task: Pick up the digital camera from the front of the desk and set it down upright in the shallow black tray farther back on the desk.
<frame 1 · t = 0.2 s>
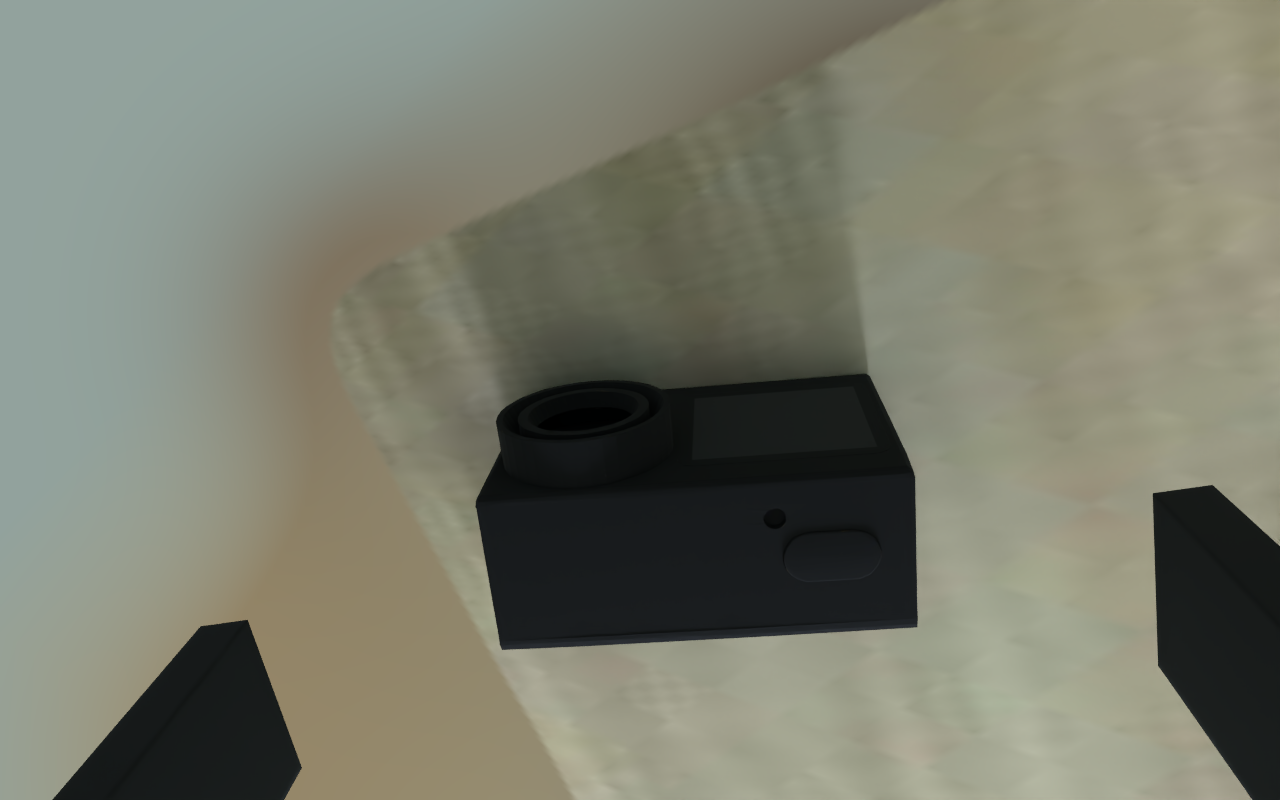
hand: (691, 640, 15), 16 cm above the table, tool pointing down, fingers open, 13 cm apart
digital camera: (700, 431, 31), on the table
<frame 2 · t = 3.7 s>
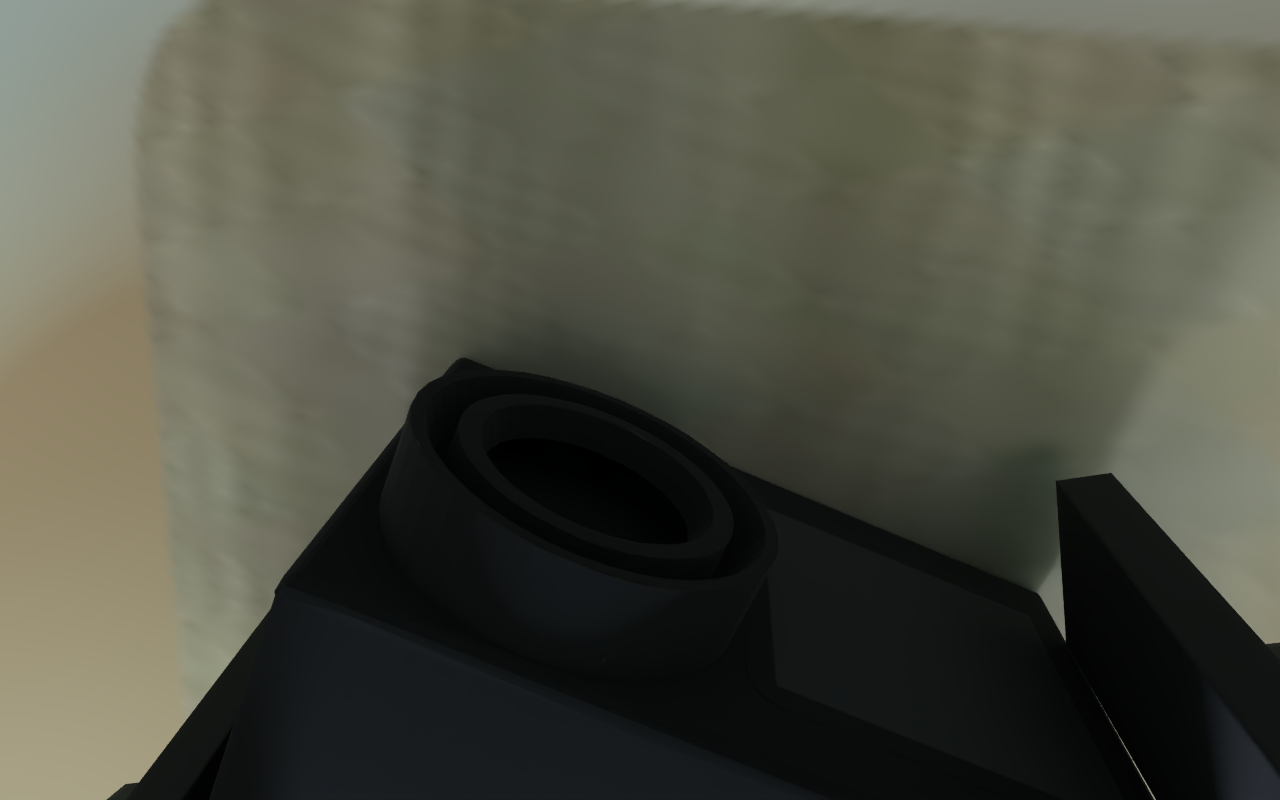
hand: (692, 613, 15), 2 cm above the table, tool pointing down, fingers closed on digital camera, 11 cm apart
digital camera: (721, 546, 17), on the table, touching gripper
when the fingers open (2 cm above the table, at t = 11.7 s): digital camera stays where it is, resting on shallow black tray.
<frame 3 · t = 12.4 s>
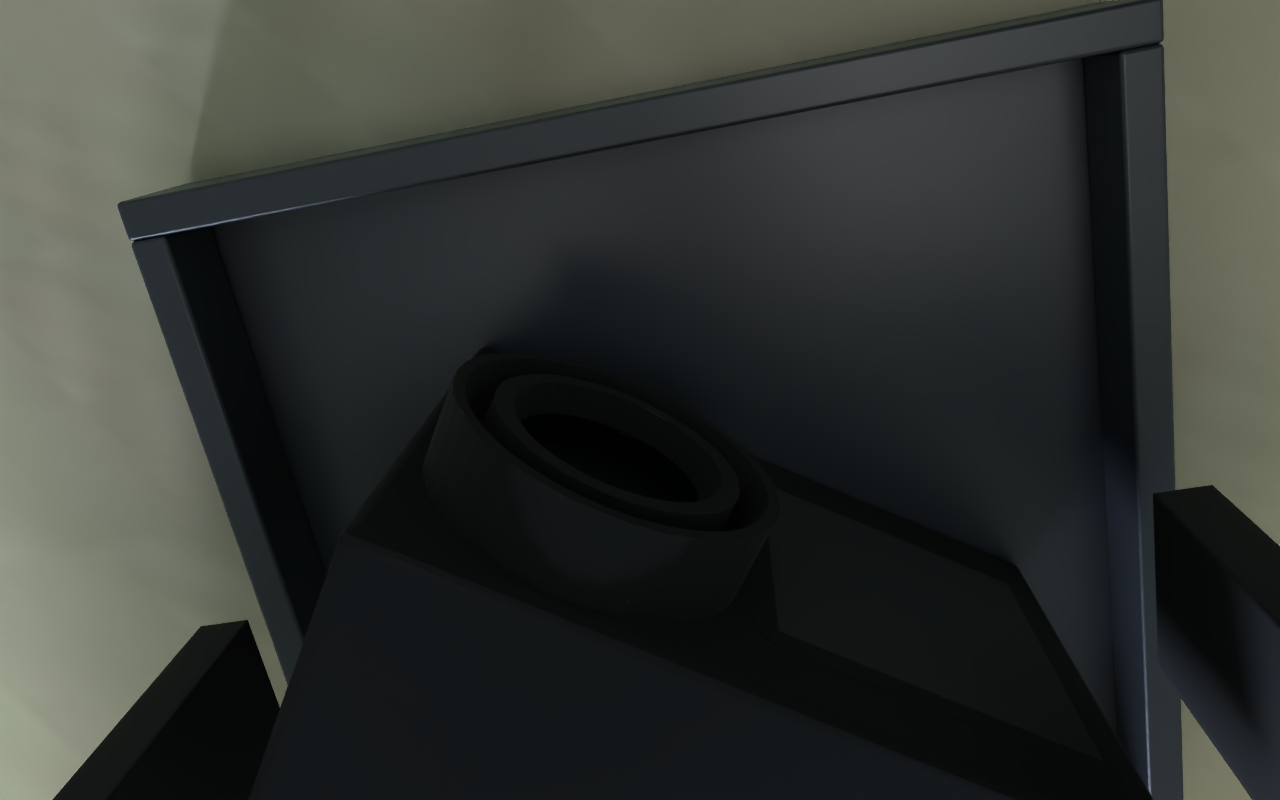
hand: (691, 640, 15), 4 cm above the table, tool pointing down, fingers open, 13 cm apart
shallow black tray: (698, 519, 19), on the table
digital camera: (723, 523, 18), resting on shallow black tray
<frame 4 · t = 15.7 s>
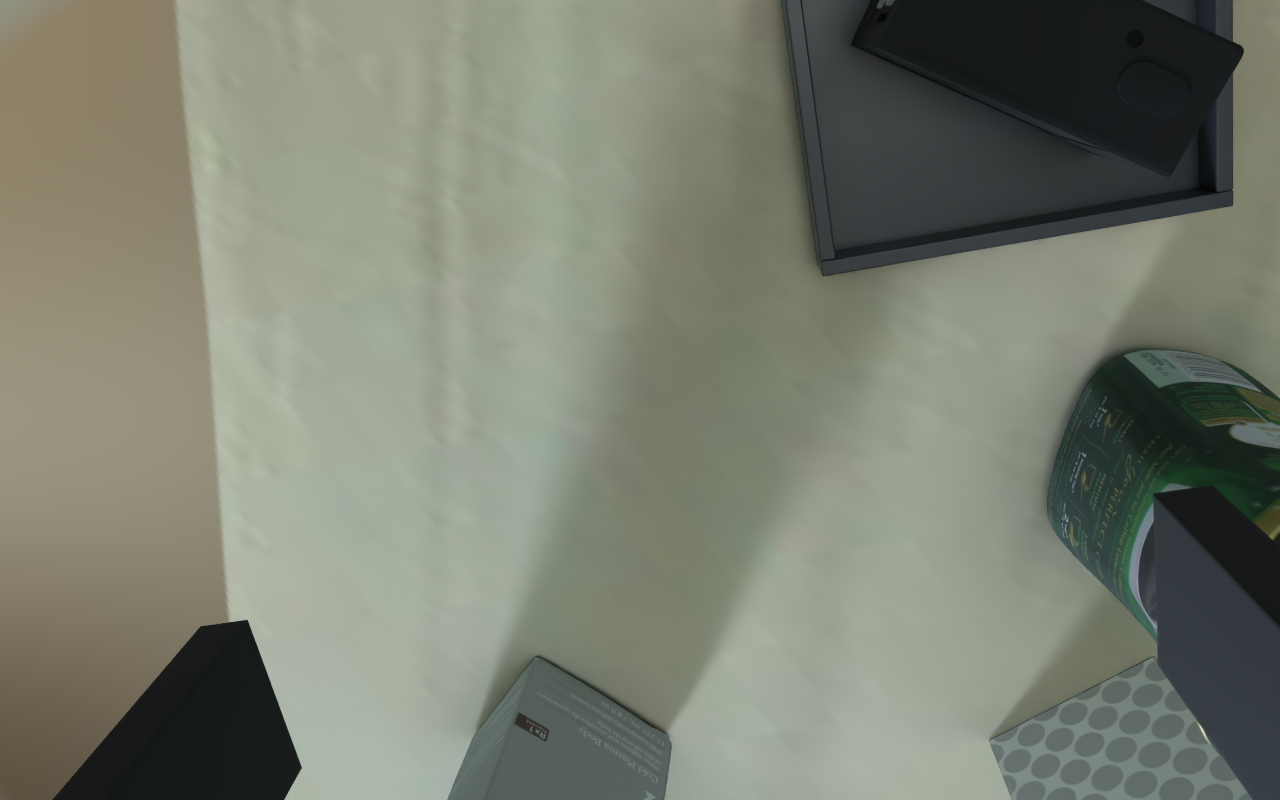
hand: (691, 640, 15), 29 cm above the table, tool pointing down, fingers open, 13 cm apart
cosmetic box: (564, 735, 51), on the table
shallow black tray: (993, 33, 38), on the table
box: (1111, 758, 49), on the table
digital camera: (1008, 29, 38), resting on shallow black tray
coffee jar: (1144, 448, 44), on the table
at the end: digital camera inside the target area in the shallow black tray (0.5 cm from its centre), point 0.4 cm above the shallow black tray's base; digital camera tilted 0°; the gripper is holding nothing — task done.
